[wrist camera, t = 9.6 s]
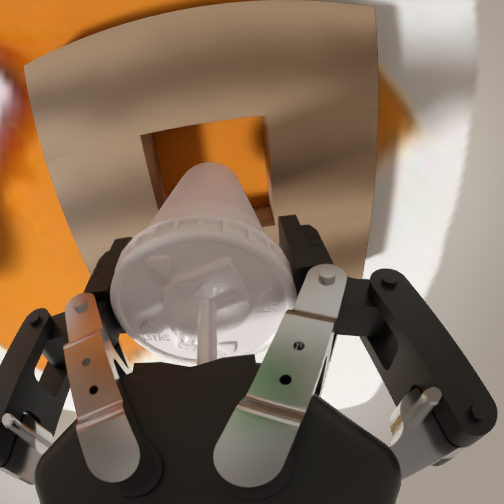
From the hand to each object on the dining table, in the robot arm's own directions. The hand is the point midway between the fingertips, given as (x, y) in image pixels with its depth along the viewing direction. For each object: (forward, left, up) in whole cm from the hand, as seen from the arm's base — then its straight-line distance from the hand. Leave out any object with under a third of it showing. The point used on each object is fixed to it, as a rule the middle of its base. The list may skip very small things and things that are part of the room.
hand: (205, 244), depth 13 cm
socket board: (0, 0, -10) cm, 10 cm away
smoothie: (0, 0, -6) cm, 6 cm away
